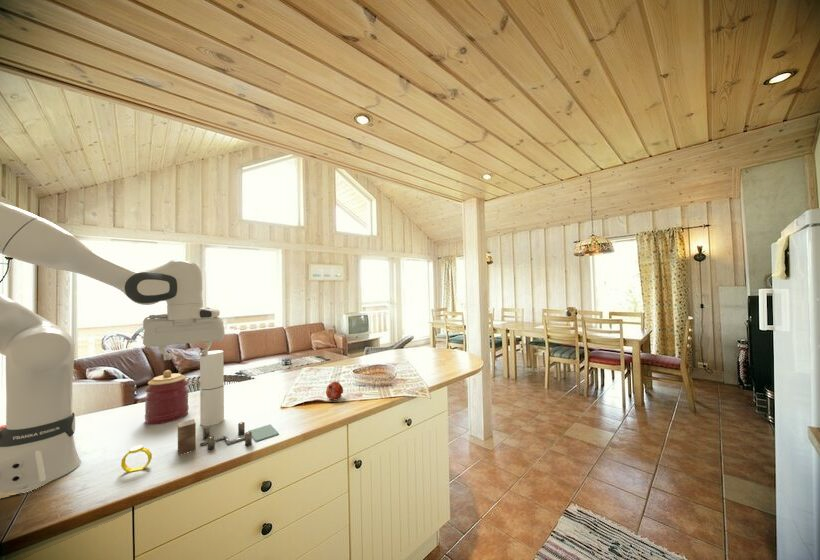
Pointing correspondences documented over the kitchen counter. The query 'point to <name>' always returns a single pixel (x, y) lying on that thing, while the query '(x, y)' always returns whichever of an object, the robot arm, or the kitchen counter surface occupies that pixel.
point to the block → (186, 436)
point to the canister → (166, 398)
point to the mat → (263, 433)
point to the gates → (212, 438)
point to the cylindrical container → (211, 388)
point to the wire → (225, 440)
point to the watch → (134, 450)
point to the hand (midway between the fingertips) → (186, 357)
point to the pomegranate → (334, 390)
